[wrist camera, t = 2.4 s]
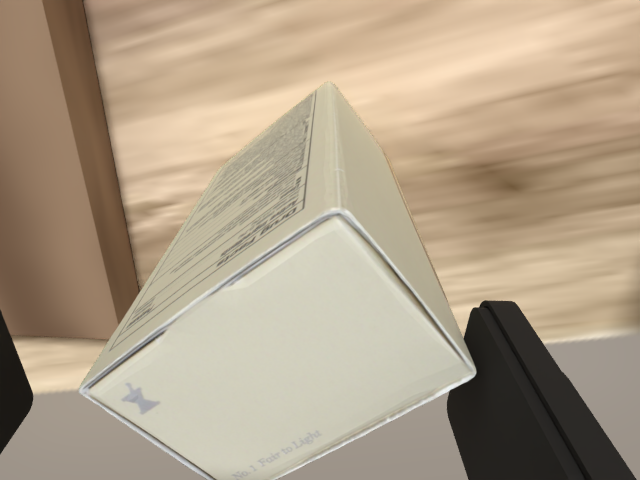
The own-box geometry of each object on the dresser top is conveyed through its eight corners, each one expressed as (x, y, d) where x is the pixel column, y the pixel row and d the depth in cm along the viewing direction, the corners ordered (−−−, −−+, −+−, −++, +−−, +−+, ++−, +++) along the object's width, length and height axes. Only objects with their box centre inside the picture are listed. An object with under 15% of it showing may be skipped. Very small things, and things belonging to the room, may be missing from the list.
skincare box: (281, 238, 20) (231, 508, 10) (212, 165, 19) (61, 397, 8) (396, 157, 18) (491, 386, 8) (331, 68, 17) (339, 203, 6)
